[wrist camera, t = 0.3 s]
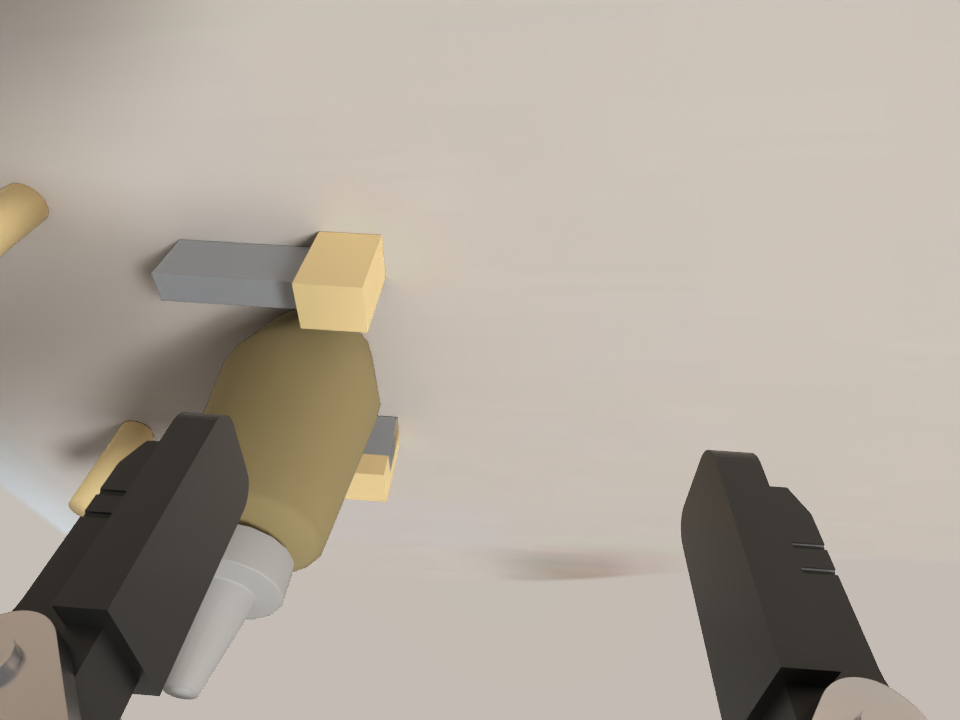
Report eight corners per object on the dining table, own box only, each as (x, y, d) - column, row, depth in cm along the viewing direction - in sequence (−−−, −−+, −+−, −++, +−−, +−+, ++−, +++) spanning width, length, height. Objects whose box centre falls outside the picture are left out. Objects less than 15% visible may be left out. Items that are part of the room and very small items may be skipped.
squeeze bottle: (257, 393, 37) (97, 723, 24) (235, 279, 32) (12, 621, 18) (392, 408, 37) (310, 746, 24) (393, 298, 32) (287, 652, 18)
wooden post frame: (-5, 182, 29) (-104, 248, 25) (379, 204, 29) (349, 276, 24) (127, 441, 41) (76, 518, 36) (400, 460, 40) (384, 541, 36)
